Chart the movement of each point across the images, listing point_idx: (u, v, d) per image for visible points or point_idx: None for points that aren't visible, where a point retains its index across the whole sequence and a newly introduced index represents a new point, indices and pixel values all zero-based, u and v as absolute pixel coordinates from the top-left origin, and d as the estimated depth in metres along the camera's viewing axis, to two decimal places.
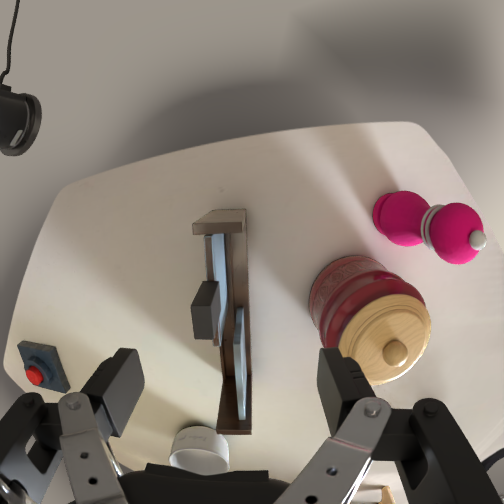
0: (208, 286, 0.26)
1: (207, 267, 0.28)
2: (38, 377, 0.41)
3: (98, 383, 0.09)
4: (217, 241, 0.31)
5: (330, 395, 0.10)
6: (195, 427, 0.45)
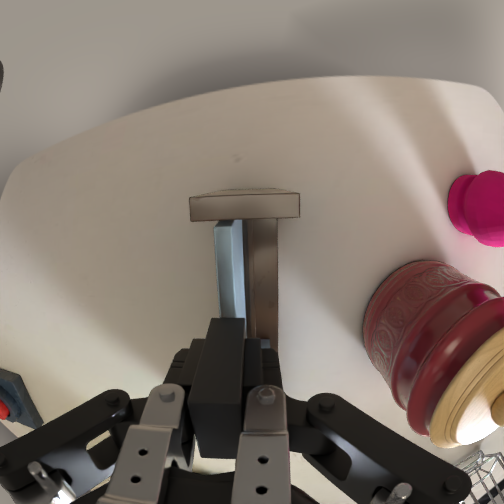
0: (225, 333, 0.12)
1: (221, 291, 0.13)
2: (3, 411, 0.26)
3: (186, 373, 0.10)
4: (237, 238, 0.16)
5: None
6: None
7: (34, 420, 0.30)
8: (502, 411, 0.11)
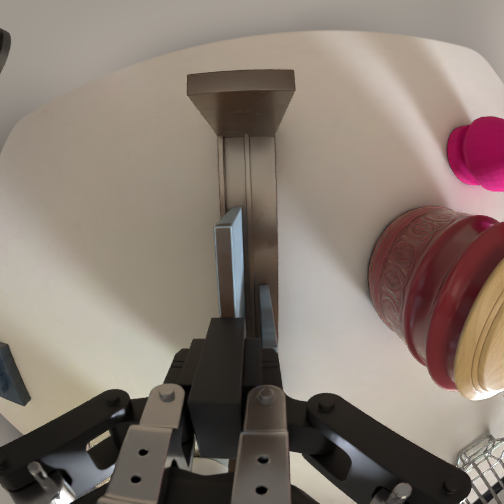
0: (225, 333, 0.12)
1: (221, 291, 0.13)
2: None
3: (186, 373, 0.10)
4: (237, 238, 0.16)
5: None
6: None
7: (21, 395, 0.29)
8: None
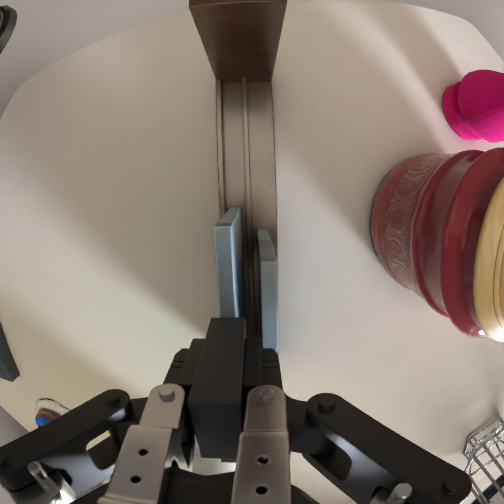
0: (224, 333, 0.12)
1: (220, 290, 0.13)
2: None
3: (185, 373, 0.10)
4: None
5: None
6: None
7: (9, 369, 0.28)
8: None
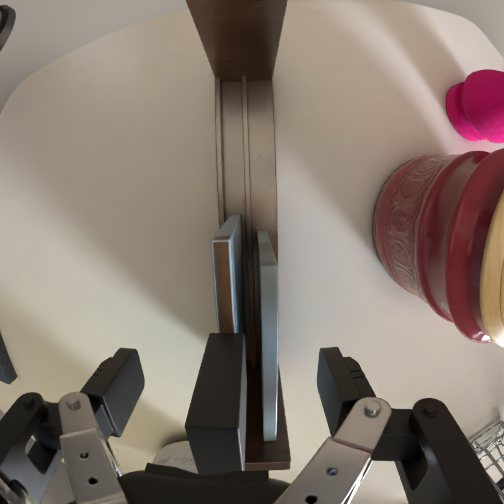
0: (223, 351, 0.12)
1: (219, 306, 0.13)
2: None
3: (98, 383, 0.09)
4: (236, 249, 0.16)
5: (330, 395, 0.10)
6: (184, 444, 0.28)
7: (6, 372, 0.27)
8: None
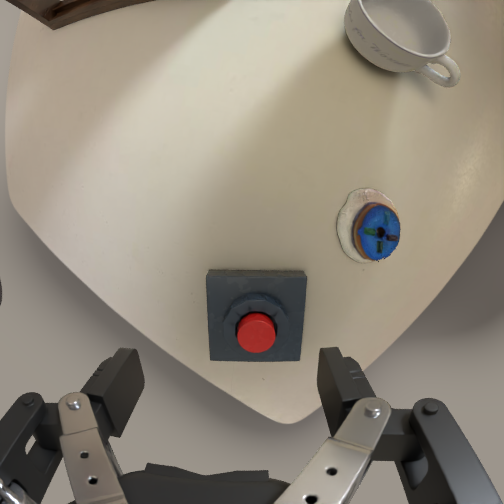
0: None
1: None
2: (253, 319, 0.27)
3: (98, 383, 0.09)
4: None
5: (330, 395, 0.10)
6: (345, 27, 0.23)
7: (287, 275, 0.30)
8: None
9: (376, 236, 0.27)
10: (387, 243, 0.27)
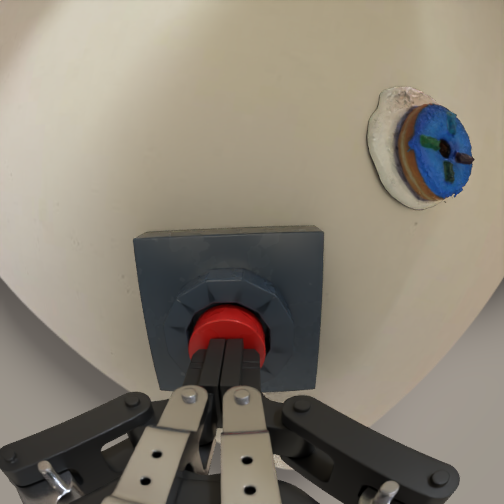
0: None
1: None
2: (217, 317, 0.13)
3: (206, 374, 0.10)
4: None
5: None
6: None
7: (285, 231, 0.15)
8: None
9: (440, 153, 0.13)
10: (457, 167, 0.13)
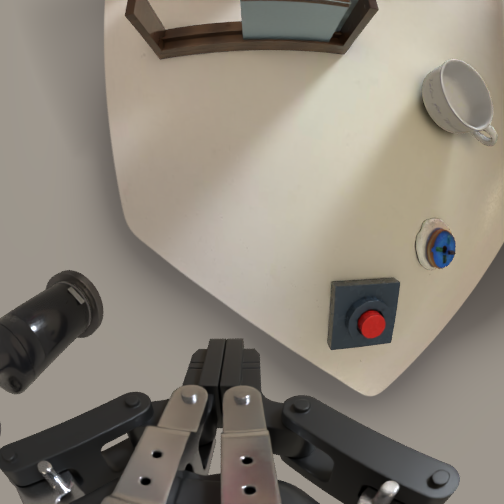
0: None
1: None
2: (372, 314, 0.36)
3: (206, 374, 0.10)
4: None
5: None
6: (423, 97, 0.32)
7: (387, 282, 0.39)
8: None
9: (442, 252, 0.36)
10: (448, 256, 0.36)
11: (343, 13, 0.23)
